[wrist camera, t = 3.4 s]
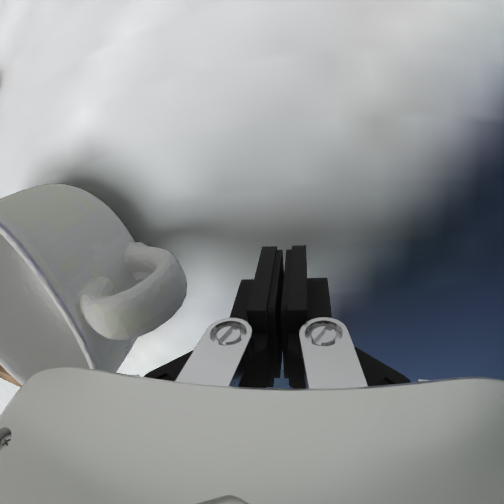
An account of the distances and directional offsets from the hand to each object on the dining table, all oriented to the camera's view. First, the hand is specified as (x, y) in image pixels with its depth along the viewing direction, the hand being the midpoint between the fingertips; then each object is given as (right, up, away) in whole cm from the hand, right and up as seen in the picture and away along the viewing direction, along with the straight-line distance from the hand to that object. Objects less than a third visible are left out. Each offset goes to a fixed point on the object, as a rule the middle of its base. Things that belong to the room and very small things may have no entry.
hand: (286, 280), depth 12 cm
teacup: (-10, +1, +5) cm, 11 cm away
